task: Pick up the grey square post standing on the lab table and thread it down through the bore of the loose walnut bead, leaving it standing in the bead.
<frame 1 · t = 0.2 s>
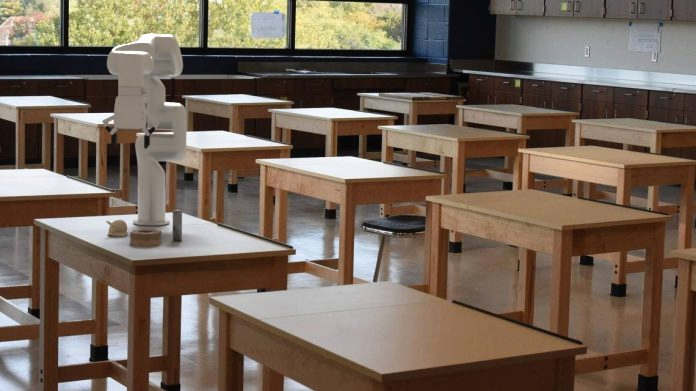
hand: (130, 147, 362), 31 cm above the table, fingers open, 9 cm apart
grey square post: (177, 241, 376), on the table
decorative ornament: (116, 236, 384), on the table
bead: (145, 243, 369), on the table
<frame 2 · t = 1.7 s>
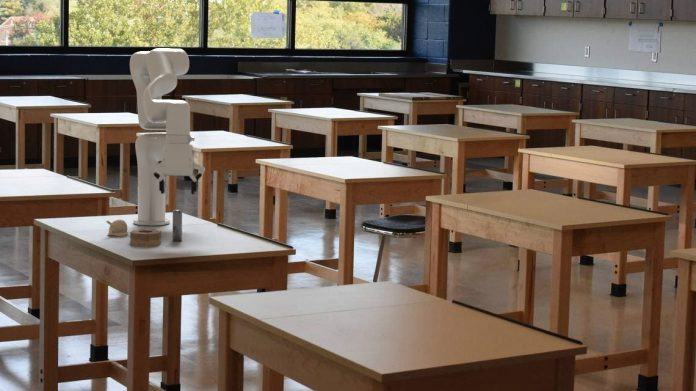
hand: (177, 193, 373), 15 cm above the table, fingers open, 9 cm apart
nothing on the table moved.
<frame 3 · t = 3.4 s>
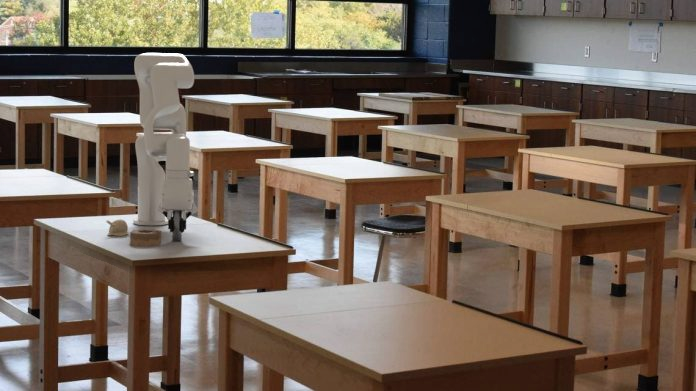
hand: (177, 231, 376), 3 cm above the table, fingers closed on grey square post, 2 cm apart
grey square post: (176, 240, 376), on the table, touching gripper
everything else where it was.
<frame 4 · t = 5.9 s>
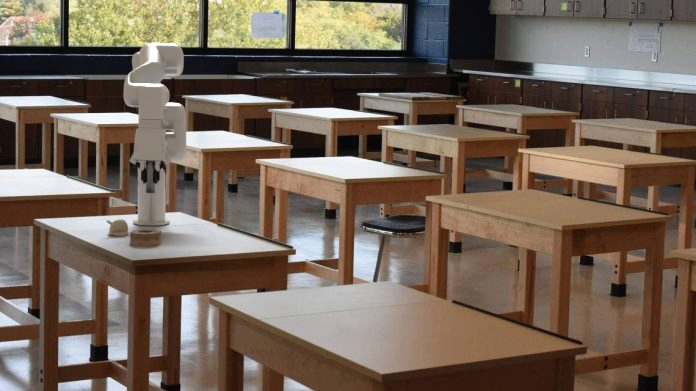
hand: (150, 182, 367), 19 cm above the table, fingers closed on grey square post, 3 cm apart
grey square post: (150, 192, 368), point 16 cm above the table, touching gripper
everything else where it was.
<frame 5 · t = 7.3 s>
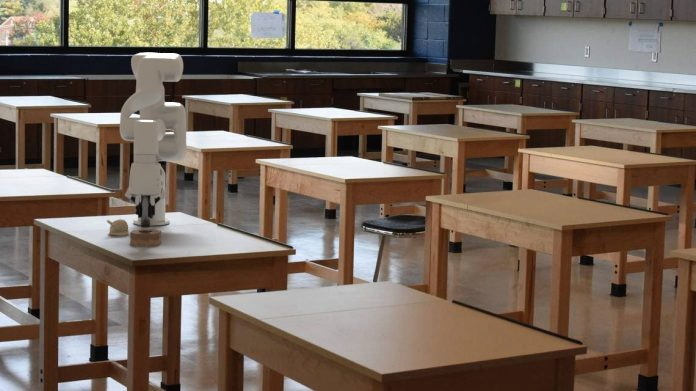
hand: (145, 216, 368), 9 cm above the table, fingers closed on grey square post, 3 cm apart
grey square post: (145, 226, 368), point 5 cm above the table, touching gripper
when the fingers open (5 cm above the table, at t = 8.3 s): grey square post drops 2 cm, resting in bead.
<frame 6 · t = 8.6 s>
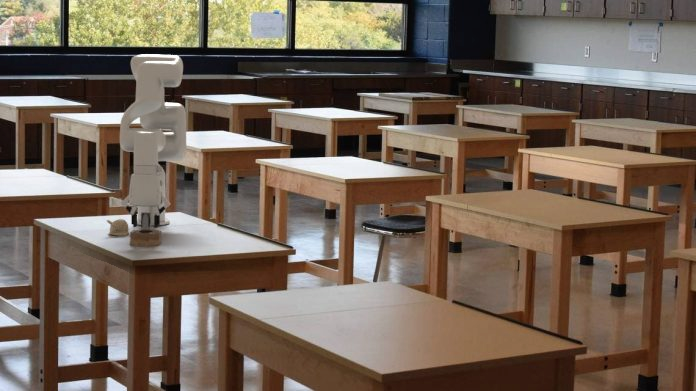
hand: (145, 226, 368), 6 cm above the table, fingers open, 6 cm apart
grey square post: (145, 243, 369), resting in bead
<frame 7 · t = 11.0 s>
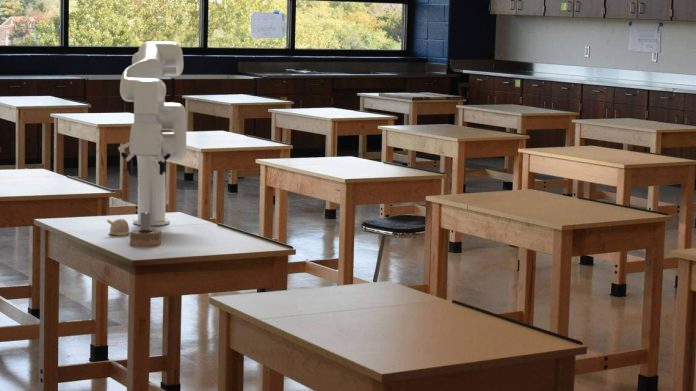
hand: (146, 174, 366), 22 cm above the table, fingers open, 9 cm apart
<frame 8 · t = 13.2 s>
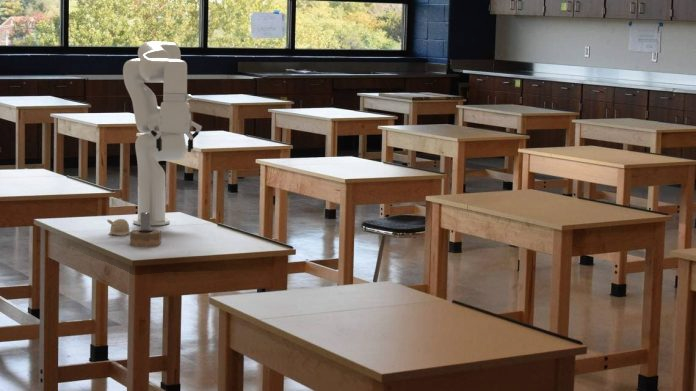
hand: (174, 151, 379), 28 cm above the table, fingers open, 9 cm apart
at the end: grey square post 0.1 cm from the bead (horizontally); grey square post resting in bead; grey square post tilted 0° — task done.
